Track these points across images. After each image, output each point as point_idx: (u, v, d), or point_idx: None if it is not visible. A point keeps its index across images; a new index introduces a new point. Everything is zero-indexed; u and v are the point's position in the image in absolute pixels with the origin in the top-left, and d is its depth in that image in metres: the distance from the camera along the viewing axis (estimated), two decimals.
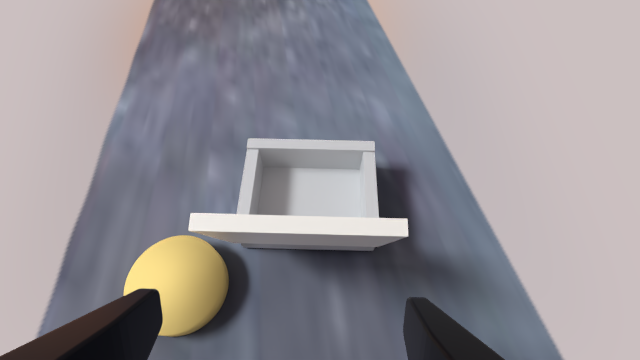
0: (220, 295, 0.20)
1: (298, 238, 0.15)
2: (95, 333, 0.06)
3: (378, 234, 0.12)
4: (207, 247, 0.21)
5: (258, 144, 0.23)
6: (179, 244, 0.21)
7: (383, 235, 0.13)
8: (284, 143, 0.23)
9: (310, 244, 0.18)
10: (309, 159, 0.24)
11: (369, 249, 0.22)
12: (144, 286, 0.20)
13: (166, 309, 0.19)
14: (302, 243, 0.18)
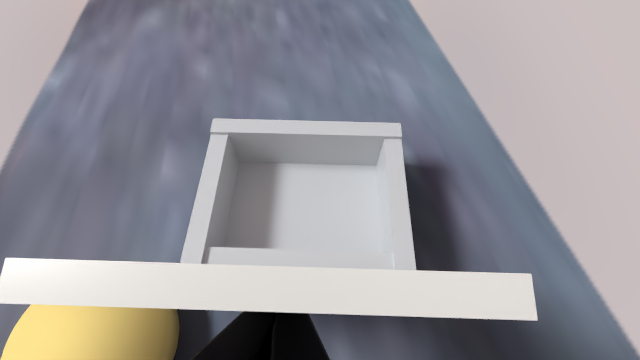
0: None
1: None
2: (259, 338, 0.06)
3: (463, 315, 0.05)
4: None
5: (227, 127, 0.15)
6: None
7: (474, 316, 0.05)
8: (266, 125, 0.15)
9: None
10: (304, 150, 0.16)
11: None
12: (35, 348, 0.12)
13: None
14: None
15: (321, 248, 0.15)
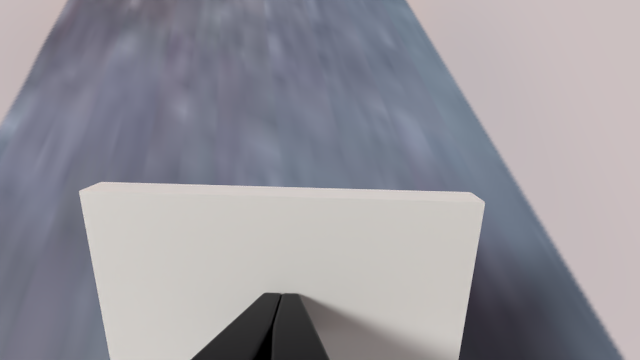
0: None
1: (275, 289, 0.07)
2: (258, 338, 0.06)
3: (429, 199, 0.07)
4: None
5: None
6: None
7: (439, 204, 0.07)
8: None
9: None
10: None
11: None
12: None
13: None
14: None
15: None
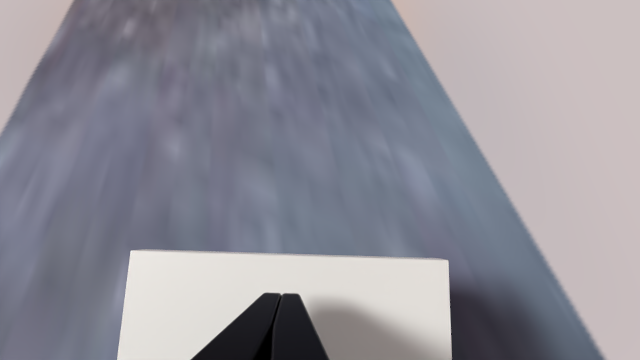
0: None
1: None
2: (259, 338, 0.06)
3: (404, 258, 0.09)
4: None
5: None
6: None
7: (412, 262, 0.09)
8: None
9: None
10: None
11: None
12: None
13: None
14: None
15: None
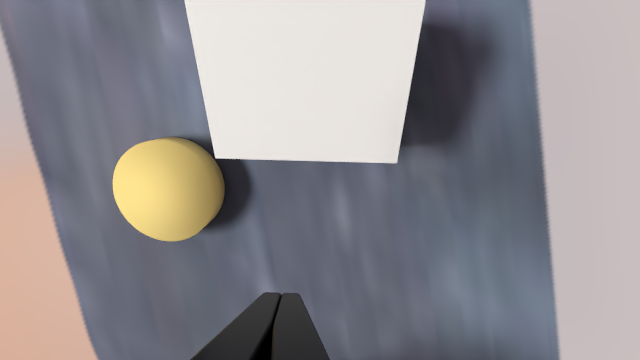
0: (207, 223, 0.19)
1: (301, 61, 0.13)
2: (258, 339, 0.06)
3: None
4: (204, 173, 0.18)
5: None
6: (174, 155, 0.18)
7: (398, 0, 0.11)
8: None
9: (311, 149, 0.15)
10: None
11: None
12: (133, 183, 0.18)
13: (153, 215, 0.19)
14: (302, 137, 0.14)
15: None
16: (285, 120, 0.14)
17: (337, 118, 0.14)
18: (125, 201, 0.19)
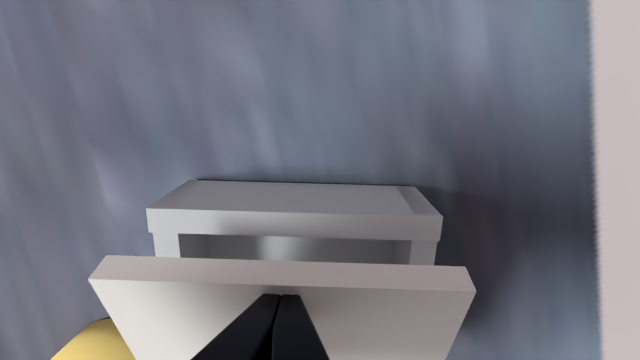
0: None
1: None
2: (259, 338, 0.06)
3: (423, 287, 0.07)
4: None
5: (173, 224, 0.10)
6: None
7: (432, 291, 0.07)
8: (232, 222, 0.10)
9: None
10: None
11: None
12: None
13: None
14: None
15: None
16: None
17: None
18: None
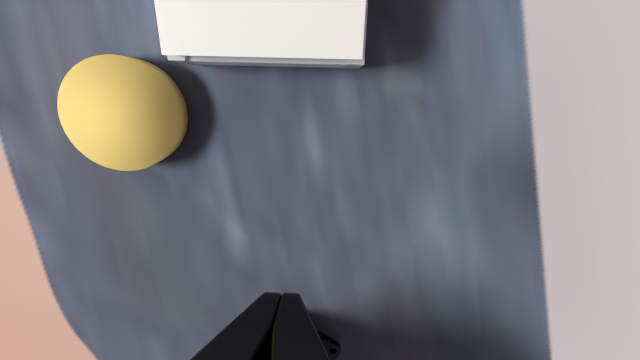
0: None
1: None
2: (258, 338, 0.06)
3: None
4: (136, 166, 0.18)
5: None
6: (160, 142, 0.17)
7: None
8: None
9: (267, 41, 0.14)
10: None
11: (353, 68, 0.17)
12: (133, 85, 0.16)
13: (92, 92, 0.16)
14: (257, 25, 0.13)
15: None
16: (238, 3, 0.13)
17: None
18: (112, 66, 0.16)
